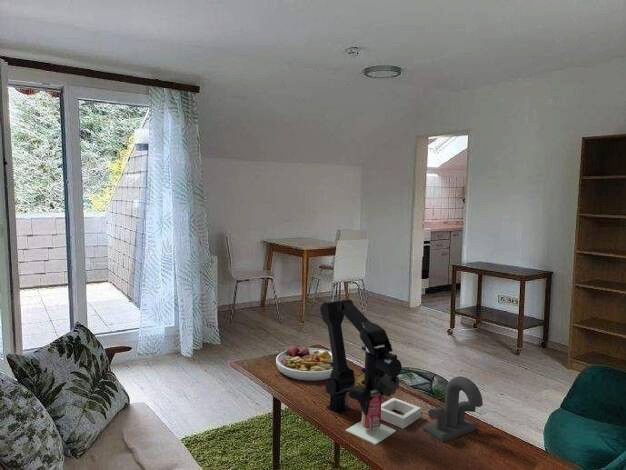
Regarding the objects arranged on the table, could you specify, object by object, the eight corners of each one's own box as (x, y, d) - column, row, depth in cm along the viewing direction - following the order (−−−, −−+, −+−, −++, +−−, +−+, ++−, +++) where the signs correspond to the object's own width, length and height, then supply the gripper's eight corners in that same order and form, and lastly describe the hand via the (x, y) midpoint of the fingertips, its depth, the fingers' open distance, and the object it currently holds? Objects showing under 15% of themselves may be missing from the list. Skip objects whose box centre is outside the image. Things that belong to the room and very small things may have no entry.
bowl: (357, 371, 208) (358, 354, 208) (307, 390, 188) (308, 371, 187) (311, 353, 230) (311, 337, 229) (262, 368, 210) (262, 351, 209)
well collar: (403, 428, 159) (403, 418, 158) (375, 416, 166) (375, 407, 166) (420, 417, 167) (420, 407, 167) (392, 406, 175) (393, 397, 174)
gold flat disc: (350, 384, 195) (350, 379, 195) (370, 377, 202) (370, 372, 202) (371, 394, 186) (372, 389, 185) (391, 387, 193) (392, 381, 193)
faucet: (458, 454, 144) (462, 391, 142) (421, 431, 158) (424, 373, 156) (496, 439, 154) (500, 380, 152) (458, 418, 167) (462, 364, 165)
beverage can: (367, 420, 161) (369, 386, 159) (383, 426, 157) (385, 391, 155) (357, 426, 156) (359, 392, 155) (373, 433, 152) (375, 397, 151)
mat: (375, 444, 148) (375, 443, 148) (345, 431, 156) (345, 429, 156) (396, 431, 157) (396, 430, 157) (366, 418, 165) (366, 417, 165)
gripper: (377, 381, 142) (375, 431, 144) (409, 365, 156) (407, 411, 157) (348, 371, 149) (346, 418, 151) (381, 357, 163) (379, 400, 165)
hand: (371, 411), depth 156 cm, fingers closed on beverage can, 6 cm apart
